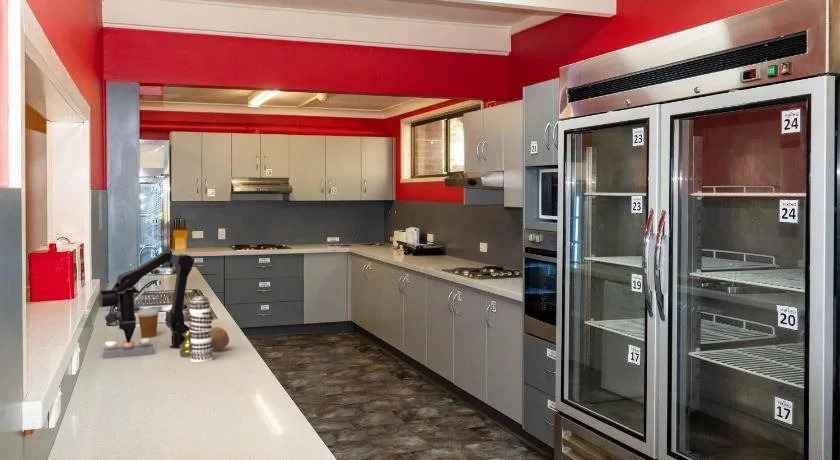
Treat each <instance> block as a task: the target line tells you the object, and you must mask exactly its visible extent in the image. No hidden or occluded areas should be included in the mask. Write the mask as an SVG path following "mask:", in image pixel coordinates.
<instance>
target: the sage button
mask: <svg viewBox="0 0 840 460" xmlns="http://www.w3.org/2000/svg"><path fill="white" fill-rule="evenodd" d="M151 338H152V337H149V338H144V337H140V338H139V341H138V343H139V345H147V344H152V341H151Z"/></svg>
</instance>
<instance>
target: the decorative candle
mask: <svg viewBox="0 0 840 460" xmlns="http://www.w3.org/2000/svg"><path fill="white" fill-rule="evenodd" d="M210 301H211V299H209V298H208V297H207V296H206V295H197V296H193V297H192V298H191V299H190V300H189V301H188V302H189V313H188V314H187V316H188V321H189V322H188V325H189V326H188V327H189V329H190V330H189V331H190V332H191V343H190V345H191V347H190V349H192V350H191V351H190V353H191V356H190V357H189V358H190V361H191V362H193V363H205V362H209V361H212V360H213V359H214V357H213V352H214V351H213V350H214V349H213V348H212V345H211V344H212V341H211V330H212V328H213V325H211V324H212V323H213V321H212V319H213V317H212V316H211V315H212V314H213V312H212V311H211V303H210Z"/></svg>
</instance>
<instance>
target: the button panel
mask: <svg viewBox="0 0 840 460" xmlns="http://www.w3.org/2000/svg"><path fill="white" fill-rule="evenodd" d="M154 354H155V353H154V344H153V343H150V344H145V345H141V344H138V345H134V347H133V348H123V346H116V347H110V348H108V347H104V348H103V352H102V356H103V357H102V358H103V359H104V360H106V359H116V358H127V357H140V356H149V355H151V356H152V355H154Z"/></svg>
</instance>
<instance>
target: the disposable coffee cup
mask: <svg viewBox="0 0 840 460" xmlns="http://www.w3.org/2000/svg"><path fill="white" fill-rule="evenodd" d="M159 313H160V312H159V309H157V308H143V309H140V310H137V313H136V315H137V317H138V323H139V329H140V334H141V338H154V337H157V333H158V332H157V330H158V319H159V315H160V314H159Z"/></svg>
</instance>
